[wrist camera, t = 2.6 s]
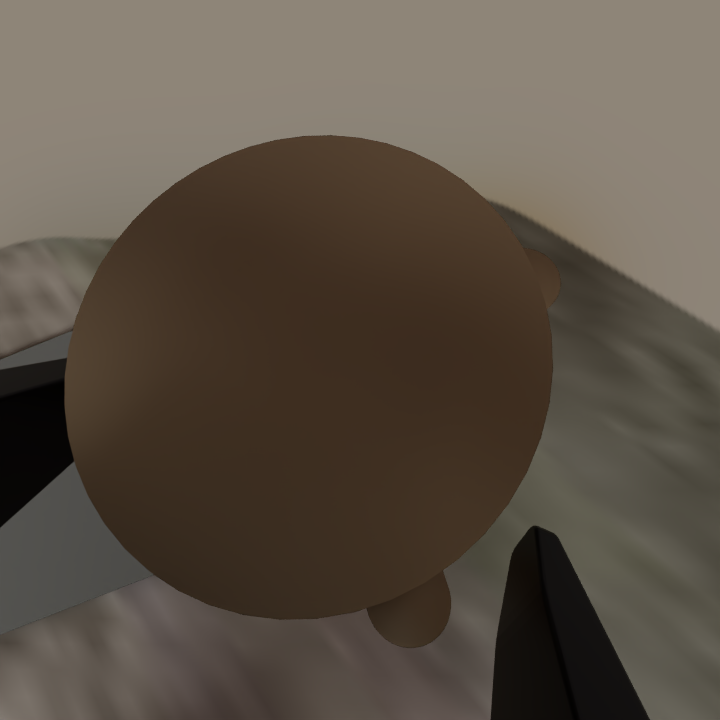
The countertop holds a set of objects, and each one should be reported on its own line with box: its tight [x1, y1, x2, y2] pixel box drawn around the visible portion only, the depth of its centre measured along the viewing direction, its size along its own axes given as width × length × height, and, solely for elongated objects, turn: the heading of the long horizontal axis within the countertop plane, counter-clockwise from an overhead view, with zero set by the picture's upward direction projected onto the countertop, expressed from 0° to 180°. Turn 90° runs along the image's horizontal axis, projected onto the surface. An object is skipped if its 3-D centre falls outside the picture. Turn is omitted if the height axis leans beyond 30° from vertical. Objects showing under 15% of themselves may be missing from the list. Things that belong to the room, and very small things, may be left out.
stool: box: [65, 135, 561, 648], centre depth 11 cm, size 6×6×12 cm
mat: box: [0, 331, 154, 635], centre depth 18 cm, size 12×14×1 cm
